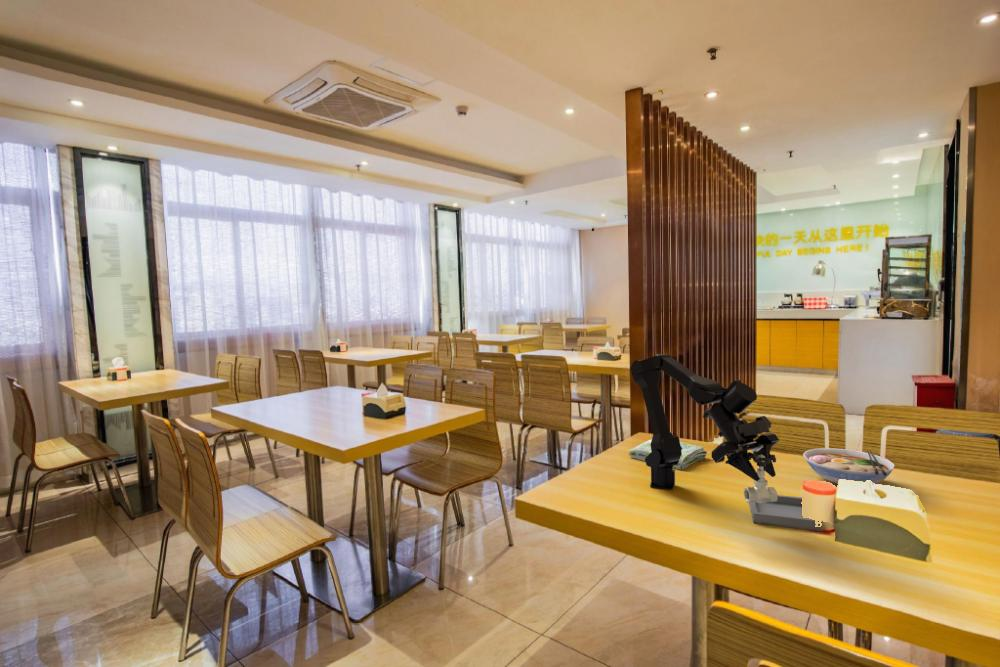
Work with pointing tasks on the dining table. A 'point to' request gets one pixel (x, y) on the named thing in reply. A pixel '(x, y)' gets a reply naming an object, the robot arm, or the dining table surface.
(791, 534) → the dining table surface
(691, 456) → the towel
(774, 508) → the parts tray
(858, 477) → the ramen bowl
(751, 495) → the valve
